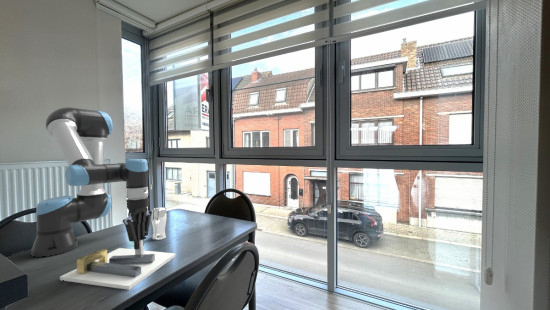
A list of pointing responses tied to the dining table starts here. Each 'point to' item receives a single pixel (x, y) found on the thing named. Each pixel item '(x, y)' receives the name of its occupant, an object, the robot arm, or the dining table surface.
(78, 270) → the collar
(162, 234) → the beer glass
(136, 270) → the fixed jaw
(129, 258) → the moving jaw
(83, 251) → the dining table surface
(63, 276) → the board
